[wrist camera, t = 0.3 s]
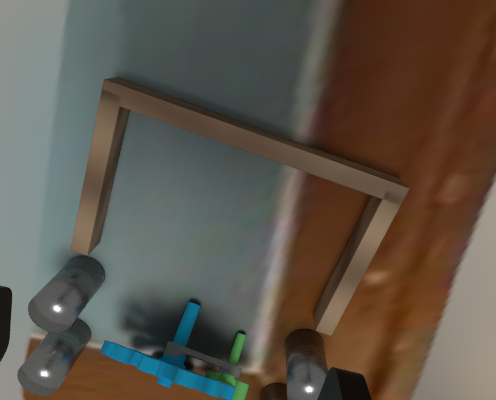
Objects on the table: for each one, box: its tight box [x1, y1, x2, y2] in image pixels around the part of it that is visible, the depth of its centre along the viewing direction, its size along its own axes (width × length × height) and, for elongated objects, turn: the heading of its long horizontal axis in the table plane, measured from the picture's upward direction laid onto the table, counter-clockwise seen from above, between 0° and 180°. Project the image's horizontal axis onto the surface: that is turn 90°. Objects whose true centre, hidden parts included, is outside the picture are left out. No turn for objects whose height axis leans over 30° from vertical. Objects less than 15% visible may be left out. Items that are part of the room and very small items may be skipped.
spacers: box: [18, 256, 328, 400], centre depth 29 cm, size 9×21×5 cm, turn 71°
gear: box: [100, 302, 249, 400], centre depth 29 cm, size 11×6×10 cm
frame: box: [71, 77, 409, 336], centre depth 26 cm, size 12×19×2 cm, turn 71°
